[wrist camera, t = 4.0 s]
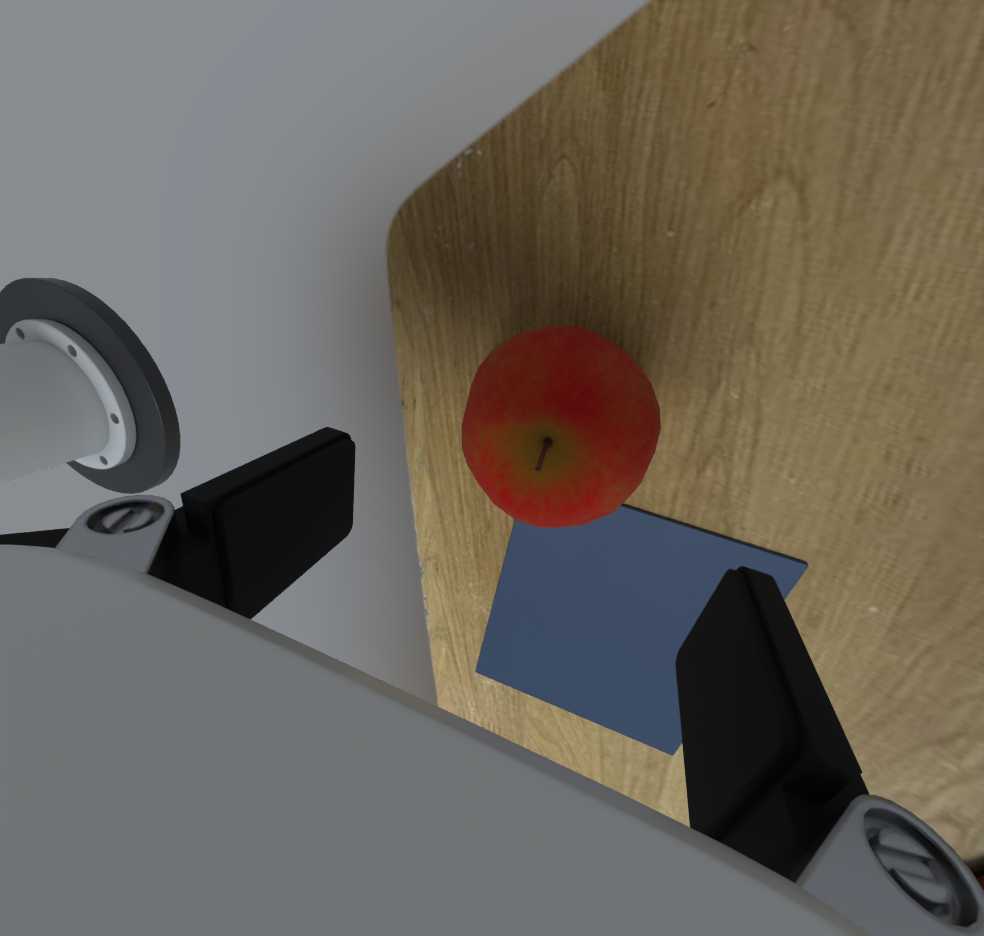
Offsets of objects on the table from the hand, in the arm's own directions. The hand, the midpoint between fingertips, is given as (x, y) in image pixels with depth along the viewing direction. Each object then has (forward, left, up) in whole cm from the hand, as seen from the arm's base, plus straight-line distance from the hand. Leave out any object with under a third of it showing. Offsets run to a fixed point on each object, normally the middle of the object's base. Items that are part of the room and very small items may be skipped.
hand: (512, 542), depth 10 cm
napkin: (+7, -16, -16) cm, 23 cm away
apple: (0, 0, -16) cm, 16 cm away
